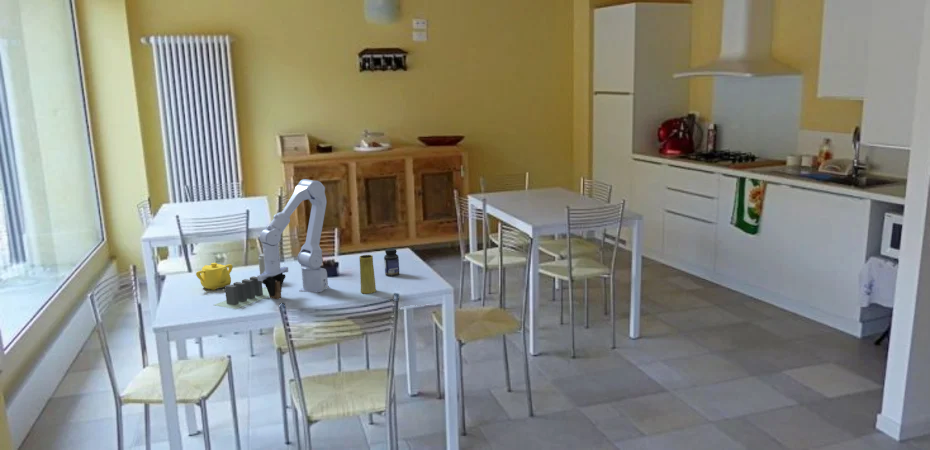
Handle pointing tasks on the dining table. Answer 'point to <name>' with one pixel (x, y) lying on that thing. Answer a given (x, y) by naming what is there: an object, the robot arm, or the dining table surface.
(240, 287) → the domino
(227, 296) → the domino
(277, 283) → the domino
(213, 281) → the teapot
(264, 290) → the mat
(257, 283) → the domino
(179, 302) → the dining table surface
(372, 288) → the vase
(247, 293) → the domino
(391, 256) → the pill bottle
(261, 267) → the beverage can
